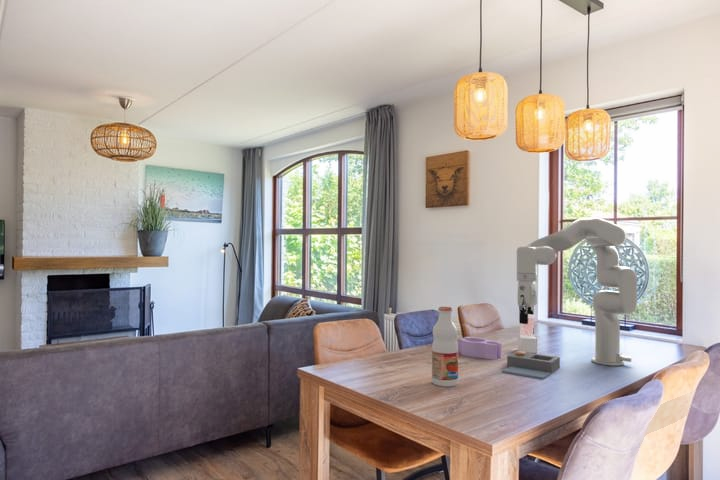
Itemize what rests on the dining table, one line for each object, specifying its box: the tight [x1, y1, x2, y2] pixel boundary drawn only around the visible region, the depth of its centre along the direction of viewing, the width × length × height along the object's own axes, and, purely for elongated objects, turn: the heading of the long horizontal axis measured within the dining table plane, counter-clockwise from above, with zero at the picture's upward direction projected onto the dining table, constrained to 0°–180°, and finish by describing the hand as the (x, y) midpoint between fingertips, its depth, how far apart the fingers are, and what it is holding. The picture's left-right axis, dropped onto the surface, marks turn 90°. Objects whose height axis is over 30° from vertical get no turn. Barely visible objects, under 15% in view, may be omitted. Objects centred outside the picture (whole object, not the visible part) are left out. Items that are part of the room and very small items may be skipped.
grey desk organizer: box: [506, 351, 561, 375], centre depth 197 cm, size 18×12×4 cm, turn 52°
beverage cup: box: [517, 313, 536, 338], centre depth 188 cm, size 6×6×14 cm
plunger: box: [514, 350, 525, 355], centre depth 201 cm, size 4×4×5 cm
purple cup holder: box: [457, 336, 502, 361], centre depth 219 cm, size 20×12×7 cm, turn 43°
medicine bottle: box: [517, 327, 538, 354], centre depth 228 cm, size 7×7×12 cm
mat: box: [502, 366, 552, 380], centre depth 187 cm, size 16×9×1 cm, turn 52°
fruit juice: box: [431, 306, 459, 388], centre depth 173 cm, size 9×9×28 cm
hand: (526, 322), depth 188 cm, fingers closed on beverage cup, 6 cm apart
